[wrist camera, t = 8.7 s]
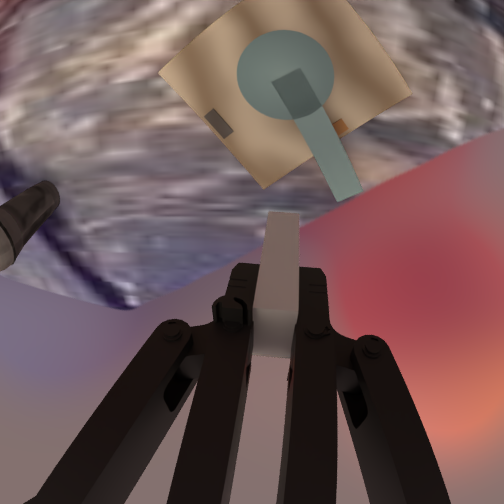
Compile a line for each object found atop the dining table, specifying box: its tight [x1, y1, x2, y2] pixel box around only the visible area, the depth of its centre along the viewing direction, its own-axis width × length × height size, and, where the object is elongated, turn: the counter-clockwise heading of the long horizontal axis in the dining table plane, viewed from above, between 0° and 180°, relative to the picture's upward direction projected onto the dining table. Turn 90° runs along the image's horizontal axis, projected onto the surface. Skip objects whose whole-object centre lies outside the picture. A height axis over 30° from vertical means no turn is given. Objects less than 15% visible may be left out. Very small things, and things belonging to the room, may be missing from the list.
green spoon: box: [237, 30, 363, 202], centre depth 22 cm, size 14×7×3 cm, turn 31°
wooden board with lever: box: [158, 0, 412, 189], centre depth 24 cm, size 18×16×4 cm
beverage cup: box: [0, 181, 60, 271], centre depth 28 cm, size 7×7×20 cm
